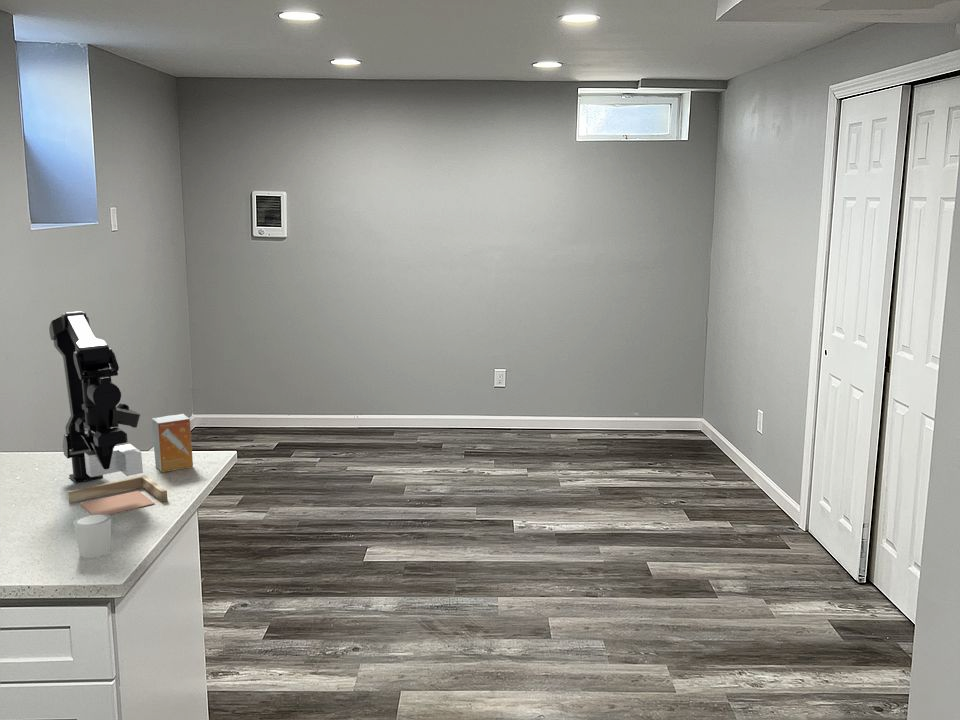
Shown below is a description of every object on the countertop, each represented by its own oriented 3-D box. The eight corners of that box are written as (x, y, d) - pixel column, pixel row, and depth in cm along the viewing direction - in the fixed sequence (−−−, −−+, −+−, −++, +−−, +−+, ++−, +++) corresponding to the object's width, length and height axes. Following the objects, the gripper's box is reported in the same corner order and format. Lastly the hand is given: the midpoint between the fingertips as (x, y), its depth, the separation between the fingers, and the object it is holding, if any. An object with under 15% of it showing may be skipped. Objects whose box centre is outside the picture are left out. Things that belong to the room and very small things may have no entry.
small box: (161, 473, 227) (157, 423, 224) (155, 466, 232) (151, 417, 229) (194, 467, 231) (190, 418, 229) (187, 461, 236) (183, 413, 234)
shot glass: (83, 546, 181) (80, 513, 180) (118, 545, 182) (115, 512, 180) (71, 560, 175) (67, 526, 173) (107, 559, 175) (104, 524, 174)
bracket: (131, 464, 210) (129, 443, 209) (143, 472, 204) (141, 451, 203) (86, 473, 204) (84, 452, 203) (96, 482, 197) (94, 460, 196)
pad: (80, 504, 205) (80, 503, 205) (138, 491, 213) (138, 490, 213) (94, 517, 197) (94, 516, 197) (154, 504, 205) (154, 503, 205)
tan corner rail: (69, 501, 207) (67, 491, 207) (146, 484, 218) (145, 475, 217) (87, 519, 196) (86, 508, 195) (167, 500, 207) (166, 490, 206)
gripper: (148, 402, 199) (153, 469, 202) (121, 387, 213) (127, 450, 216) (95, 410, 192) (102, 480, 195) (71, 394, 206) (78, 460, 209)
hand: (104, 466), depth 204 cm, fingers closed on bracket, 3 cm apart
